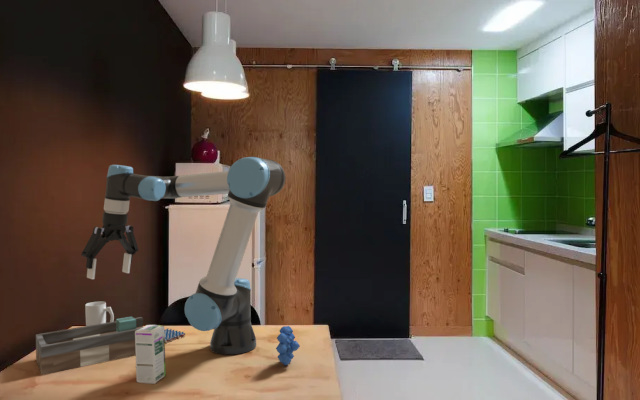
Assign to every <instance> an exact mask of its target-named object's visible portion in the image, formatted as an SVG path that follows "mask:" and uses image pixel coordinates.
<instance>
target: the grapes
mask: <svg viewBox="0 0 640 400" xmlns="http://www.w3.org/2000/svg"><path fill="white" fill-rule="evenodd" d="M293 332H294V330H293V329H292V327H291V326H289V325H284V326H282V327H281V328H280V329H279V334H278V336H276V339H277V341H278V342H279V343H278V345H277V346H276V348H275V349H276V351H277V353H278V356H277V359H278V360H279V362H280V363H281V364H282V365H284V366H288V365H289V364H290V363H291V362H292V360H293V359H294V357H295V355H294V352H295V351H298V350H299V348H300V346H301V345H300V344H299V342H298V341H297V340H295V338H296V336H295V334H294V333H293Z"/></svg>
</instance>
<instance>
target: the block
mask: <svg viewBox="0 0 640 400" xmlns="http://www.w3.org/2000/svg"><path fill="white" fill-rule="evenodd" d="M135 318H136V317H133V316H126V317H121V318H116V319H115V321H116V331H117V332H121V331H126V330H132V329H136V319H135Z"/></svg>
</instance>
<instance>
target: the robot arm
mask: <svg viewBox="0 0 640 400" xmlns="http://www.w3.org/2000/svg"><path fill="white" fill-rule="evenodd" d="M286 179H287V178H286V172H285V170H284V168H283V167H282V165H281V164H280V163H278V162H277V161H275V160H272V159H268V158H267V159H266V158H261V157H256V156H248V157H246V156H245V157H242V158H240V159H238V160H235V162H233V163H232V165H231V166H230V168H229V169H228V170H224V171H214V172H213V171H212V172H206V173H205V172H204V173H194V174H186V175H184V174H183V175H173V176H161V175H160V176H159V175H156V176H155V175H143V174H137V173H134V168H133V167H132V166H130V165H128V166H127V165H121V164H111V165H109V166H108V170H107V175H106V182H105V183H106V186H105V187H106V188H105V195H104V203H103V204H104V205H103V210H104V211H103V213H102V220H101V221H102V227H98V226H94V227H93V230H92V233H91V235H90V237H89V239H88V241H87V243H86V244H85V246H84V249H83V250H82V252H81V255H80V256H81V257H84V258H86V265H85V267H86V270H87V271H86V278H87V279H90V280H95V279H96V278H95V277H96V267H97V258H96V257H97V255H98V254H99V253H100V252H101V250H103V248H104V246H105V245H107V243H109V242H110V241H111V242H112V241H119V243H120V244H121V246H122V247H123V249H124V251H125V252H124V254H123V260H122V261H123V263H122V270H121V271H122V273H125V274H130V271H131V264H132V263H133V257H134V255H136V253H138V252H139V246H138V243H137V240H136V237H135V233H134V226H133V225H129V224H128V220H129V219H128V218H129V217H128V216H129V214H128V212H129V209H130V200H131V198H136V199H140V200H141V199H142V200H145V201H153V202H157V201H160V200H161V199H173V200H174V199H178V198H180V199H181V198H188V197H189V198H190V197H202V196H203V197H204V196H214V195H215V196H216V195H227V198H228V200H229V202H230V205H229V207H228V209H227V213H226V216H225V220H224V222H223V225H222V229H221V232H220V234H219V237H218V240H217V242H216V247H215V249H214V253H213V256H212V258H211V261H210V265H209V267H208V270H207V274H206V276H204V277H202V278H200V279H199V281H198V285H197V287H196V290H195V293H193V294H191V295H190V296H189V297H188V298H187V299H186V302H185V303H184V314H185V315H184V316H185V317H186V318H187V321H188V323H189V324H190V325H191V327H192V328H194V329H196V330H198V331H201V332H209V331H211V330H213V332H212V335H211V338H210V342H209V344H210V345H209V347H210V351H211V352H213V353H215V354H218V355H240V354H244V353H249V352H251V351H252V350H254V349H256V347H257V337H256V335H255V331H254V329H253V326H252V322H251V320H252V317H251V315H252V314H251V311H252V309H251V307H252V306H251V302H252V301H251V297H252V296H251V291H252V288H251V282H250V280H249V279H247V278H242V277H241V278H240V277H239V278H238V273H239V270H240V267H241V264H242V261H243V258H244V256H245V253H246V250H247V246H248V243H249V241H250V237H251V235H252V232H253V229H254V226H255V223H256V220H257V217H258V214H259V212H260V211H263V210H264V209H266V206H267V204H268V201H269V199H270V197H272V196H275V195H277V194H279V193H281V191H282V190H283V188H284V187H285V183H286Z"/></svg>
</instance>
